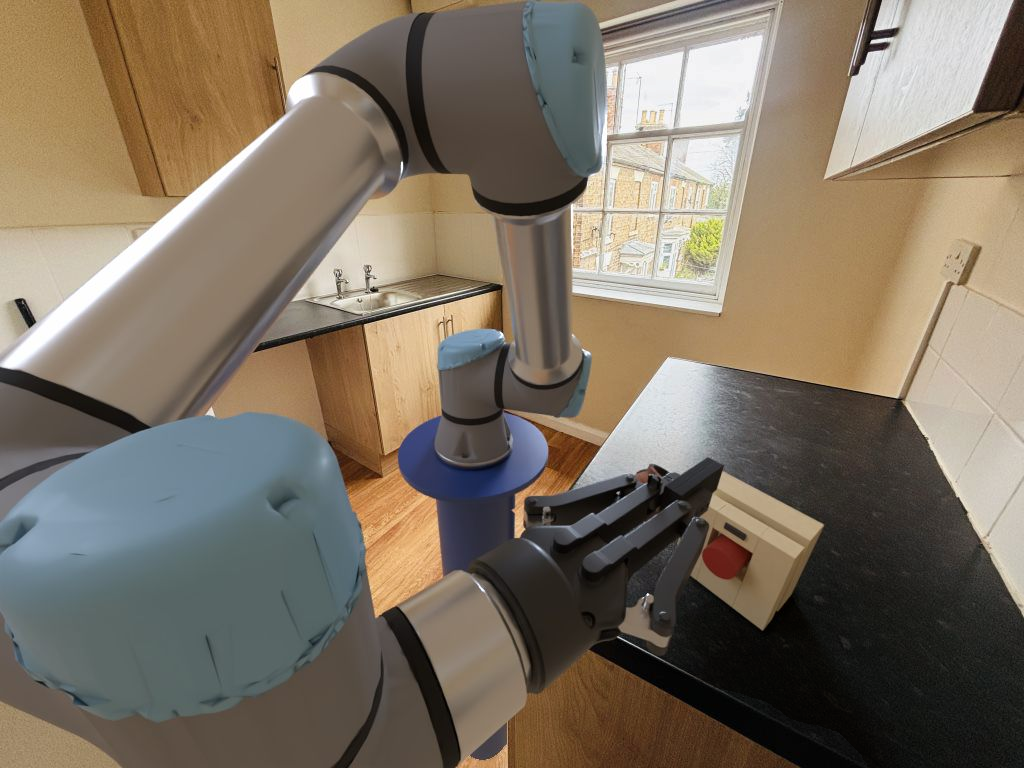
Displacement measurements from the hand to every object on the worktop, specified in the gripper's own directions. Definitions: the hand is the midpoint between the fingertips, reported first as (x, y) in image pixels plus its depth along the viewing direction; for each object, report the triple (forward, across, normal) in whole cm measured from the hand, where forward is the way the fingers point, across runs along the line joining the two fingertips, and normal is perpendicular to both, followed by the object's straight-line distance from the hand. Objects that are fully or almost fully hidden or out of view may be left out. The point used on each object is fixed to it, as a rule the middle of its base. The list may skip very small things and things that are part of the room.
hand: (712, 473), depth 36 cm
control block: (+15, 0, -24) cm, 28 cm away
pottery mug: (+16, -13, -24) cm, 32 cm away
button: (+10, 0, -19) cm, 21 cm away
